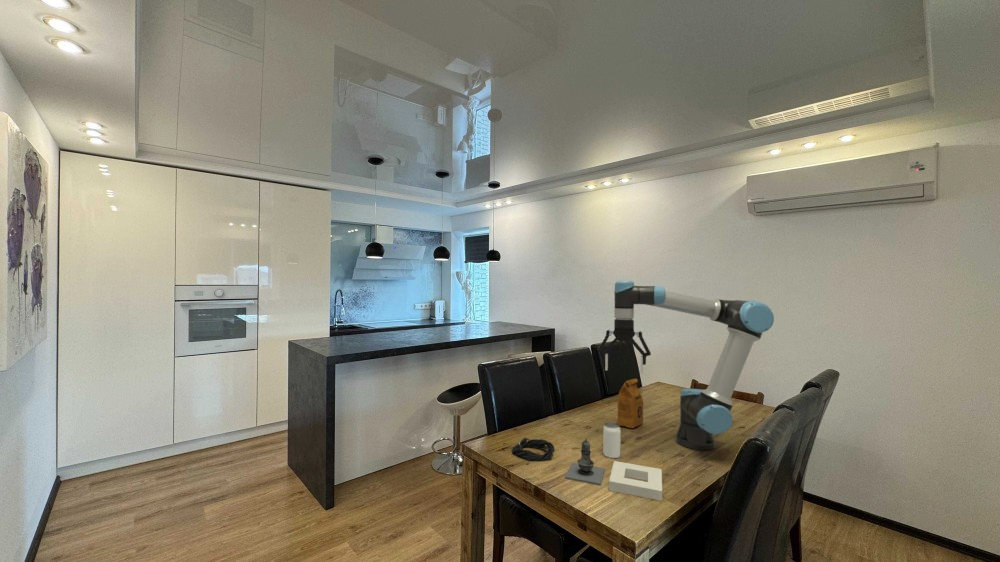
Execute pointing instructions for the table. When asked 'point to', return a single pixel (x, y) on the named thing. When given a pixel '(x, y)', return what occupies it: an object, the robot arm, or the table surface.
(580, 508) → the table surface
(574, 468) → the rubber mat
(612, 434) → the can
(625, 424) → the coffee package
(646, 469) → the white square tray
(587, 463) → the grey statuette
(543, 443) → the cable
